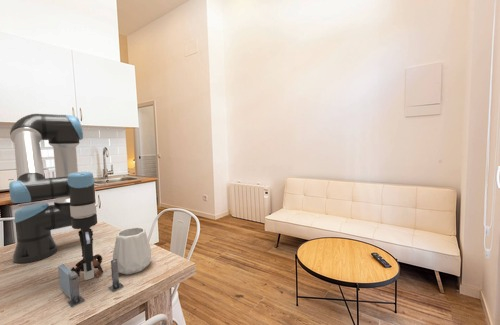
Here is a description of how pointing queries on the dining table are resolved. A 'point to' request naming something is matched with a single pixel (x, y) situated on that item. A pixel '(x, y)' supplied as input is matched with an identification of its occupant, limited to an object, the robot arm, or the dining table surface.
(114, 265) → the post
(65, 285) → the gate
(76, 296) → the hinge post
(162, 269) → the dining table surface
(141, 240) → the vase
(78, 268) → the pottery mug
